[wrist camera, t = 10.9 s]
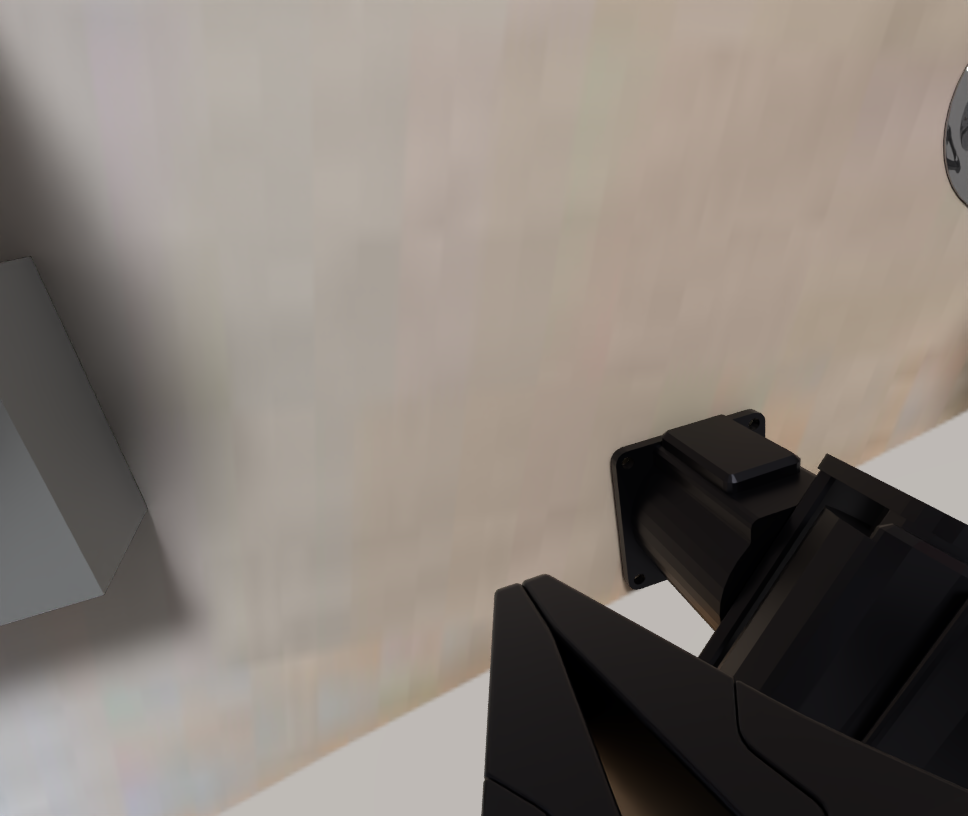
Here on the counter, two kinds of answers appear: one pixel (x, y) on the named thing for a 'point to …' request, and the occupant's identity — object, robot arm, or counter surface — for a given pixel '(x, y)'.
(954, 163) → the wine glass
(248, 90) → the counter surface
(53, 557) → the sliding door box
